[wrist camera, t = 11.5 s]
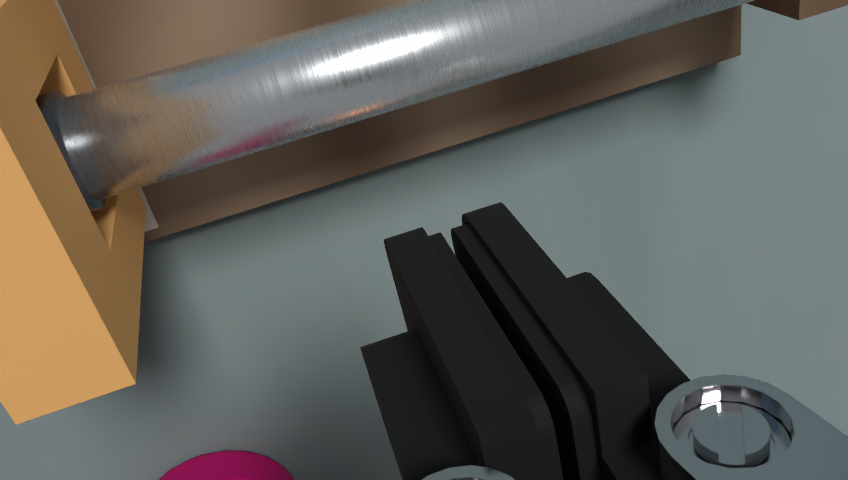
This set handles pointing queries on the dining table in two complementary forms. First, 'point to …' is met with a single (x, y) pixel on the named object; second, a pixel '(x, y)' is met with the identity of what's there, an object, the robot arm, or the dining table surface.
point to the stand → (376, 136)
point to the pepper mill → (228, 467)
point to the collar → (58, 238)
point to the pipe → (326, 81)
